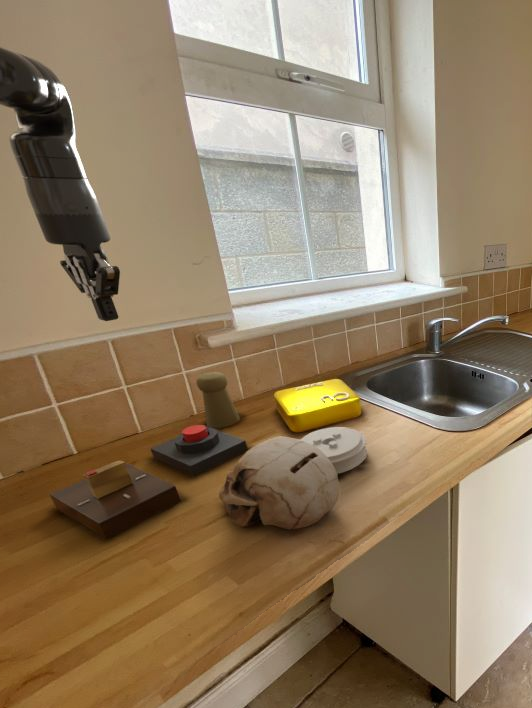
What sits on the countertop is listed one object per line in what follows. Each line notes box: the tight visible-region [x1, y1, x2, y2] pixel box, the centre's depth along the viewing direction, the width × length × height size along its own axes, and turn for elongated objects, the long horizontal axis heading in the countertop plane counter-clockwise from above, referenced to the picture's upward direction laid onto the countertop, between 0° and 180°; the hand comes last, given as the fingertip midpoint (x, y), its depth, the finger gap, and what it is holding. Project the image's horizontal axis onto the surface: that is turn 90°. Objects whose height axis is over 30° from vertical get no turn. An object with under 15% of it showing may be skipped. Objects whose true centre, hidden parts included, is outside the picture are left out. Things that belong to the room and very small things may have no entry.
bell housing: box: [150, 425, 249, 477], centre depth 84 cm, size 12×10×4 cm
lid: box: [300, 426, 368, 475], centre depth 84 cm, size 13×13×5 cm
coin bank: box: [218, 435, 340, 531], centre depth 69 cm, size 16×17×13 cm
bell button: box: [181, 424, 208, 442], centre depth 83 cm, size 4×4×2 cm
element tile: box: [273, 378, 362, 433], centre depth 101 cm, size 15×15×5 cm
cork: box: [196, 371, 241, 429], centre depth 94 cm, size 6×6×11 cm
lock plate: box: [49, 462, 181, 540], centre depth 71 cm, size 14×10×3 cm
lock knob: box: [82, 459, 133, 499], centre depth 69 cm, size 5×1×4 cm, turn 155°
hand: (109, 319), depth 77 cm, fingers closed
